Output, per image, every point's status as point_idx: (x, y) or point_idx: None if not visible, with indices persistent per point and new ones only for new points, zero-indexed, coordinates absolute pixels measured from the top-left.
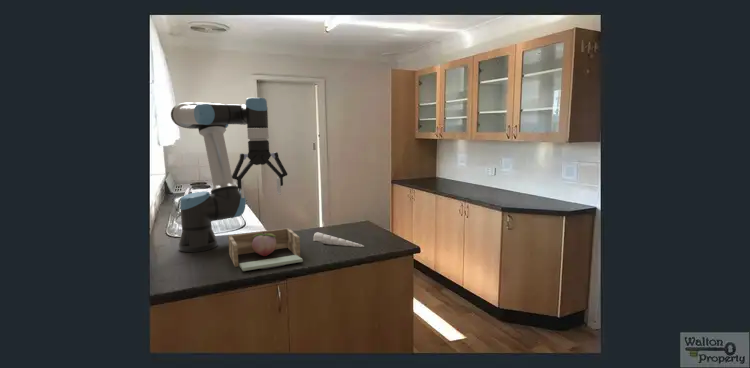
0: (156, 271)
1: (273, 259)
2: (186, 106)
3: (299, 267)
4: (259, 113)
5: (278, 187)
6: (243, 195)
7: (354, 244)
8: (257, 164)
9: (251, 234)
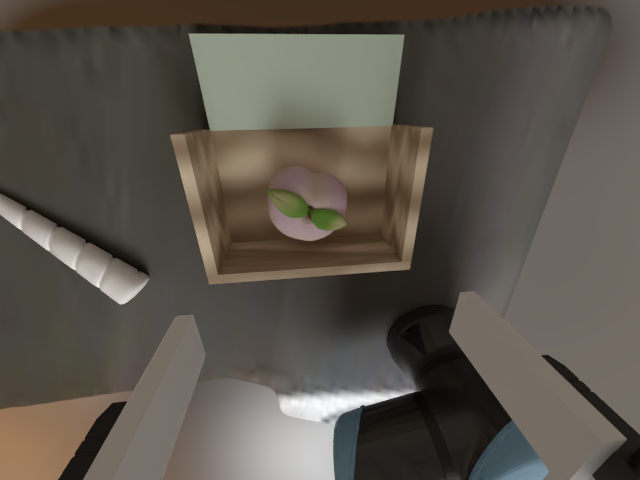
0: (545, 205)
1: (291, 108)
2: None
3: None
4: None
5: (167, 377)
6: (478, 303)
7: None
8: None
9: (340, 264)
